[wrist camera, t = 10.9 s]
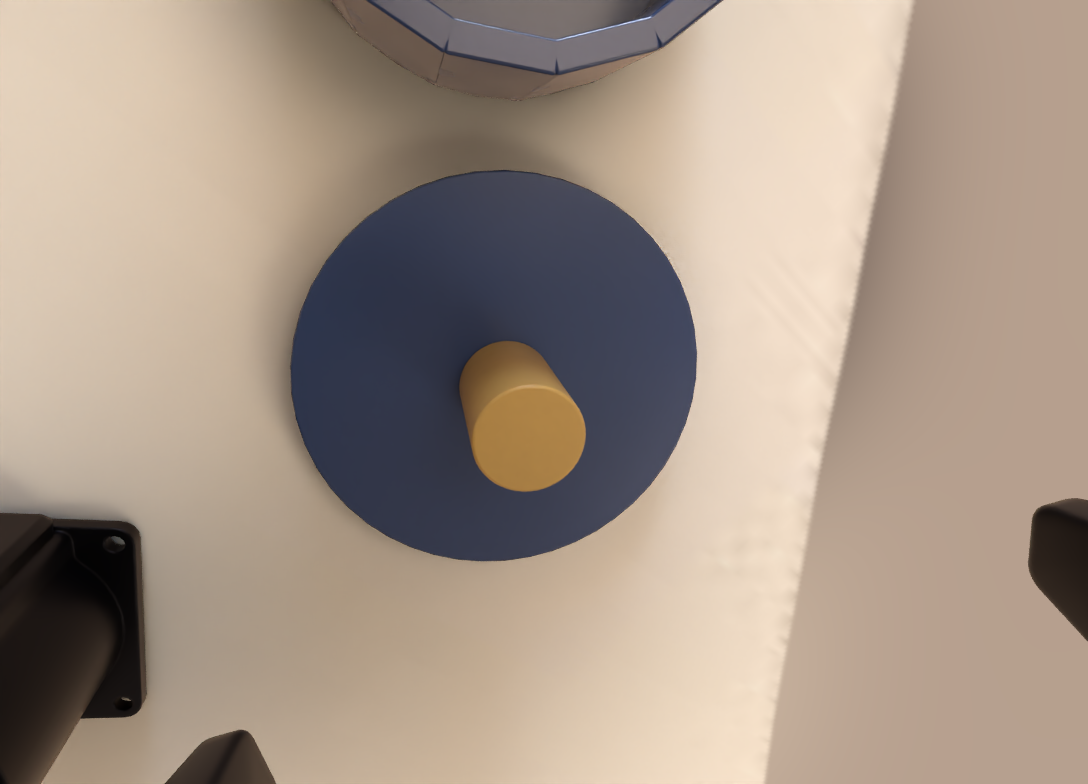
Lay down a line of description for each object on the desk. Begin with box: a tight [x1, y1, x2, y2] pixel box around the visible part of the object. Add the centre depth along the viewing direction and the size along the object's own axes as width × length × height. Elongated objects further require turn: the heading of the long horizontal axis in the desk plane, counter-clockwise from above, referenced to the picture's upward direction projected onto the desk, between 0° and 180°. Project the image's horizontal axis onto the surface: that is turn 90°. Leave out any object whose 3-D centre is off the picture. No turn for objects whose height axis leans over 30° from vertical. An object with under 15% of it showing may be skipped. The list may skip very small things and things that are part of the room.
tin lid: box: [290, 170, 697, 561], centre depth 17 cm, size 11×11×5 cm
